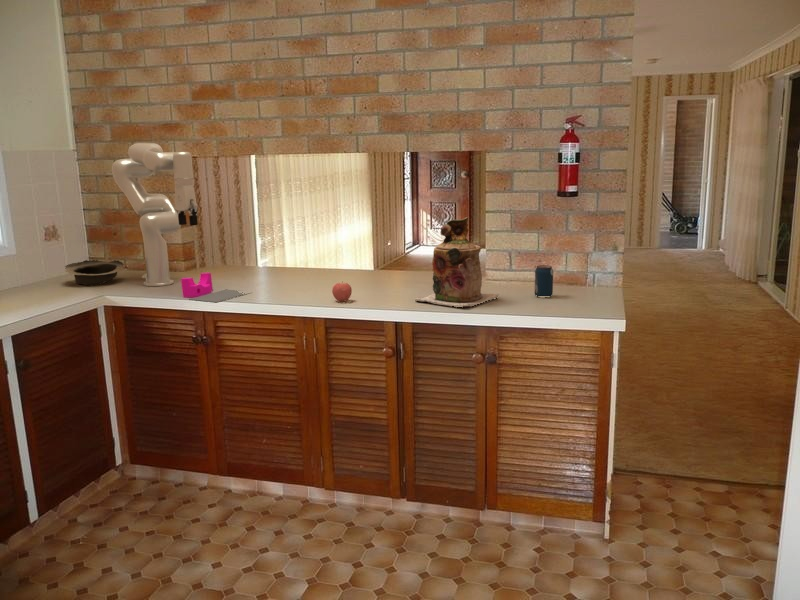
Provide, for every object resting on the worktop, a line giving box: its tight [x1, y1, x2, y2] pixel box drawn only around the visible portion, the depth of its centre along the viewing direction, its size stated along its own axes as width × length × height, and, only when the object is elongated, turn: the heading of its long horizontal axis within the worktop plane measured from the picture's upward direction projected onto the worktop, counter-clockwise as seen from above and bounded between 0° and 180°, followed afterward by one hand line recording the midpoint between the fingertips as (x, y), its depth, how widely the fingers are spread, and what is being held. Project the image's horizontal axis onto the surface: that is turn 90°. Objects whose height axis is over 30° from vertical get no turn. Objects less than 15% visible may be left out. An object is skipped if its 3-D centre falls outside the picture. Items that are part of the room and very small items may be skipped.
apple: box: [331, 280, 353, 303], centre depth 269 cm, size 7×7×8 cm
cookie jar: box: [414, 217, 500, 308], centre depth 265 cm, size 25×25×32 cm
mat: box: [188, 288, 245, 303], centre depth 283 cm, size 14×22×1 cm, turn 153°
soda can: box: [534, 264, 554, 297], centre depth 272 cm, size 7×7×12 cm
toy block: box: [180, 272, 214, 298], centre depth 287 cm, size 15×6×8 cm, turn 160°
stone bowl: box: [64, 259, 124, 286], centre depth 317 cm, size 25×25×9 cm
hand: (188, 224), depth 288 cm, fingers open, 9 cm apart
